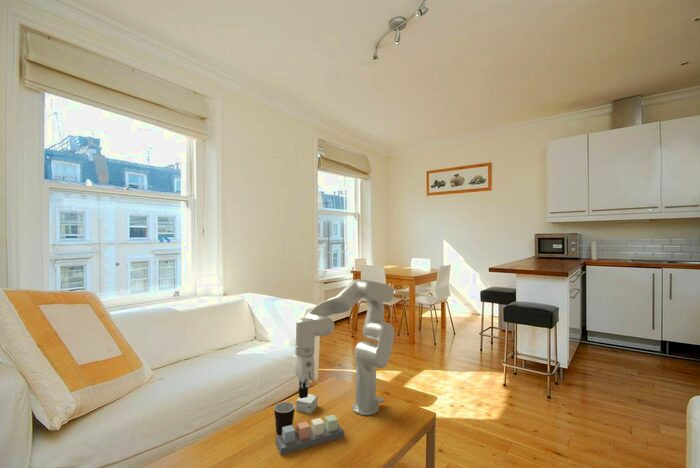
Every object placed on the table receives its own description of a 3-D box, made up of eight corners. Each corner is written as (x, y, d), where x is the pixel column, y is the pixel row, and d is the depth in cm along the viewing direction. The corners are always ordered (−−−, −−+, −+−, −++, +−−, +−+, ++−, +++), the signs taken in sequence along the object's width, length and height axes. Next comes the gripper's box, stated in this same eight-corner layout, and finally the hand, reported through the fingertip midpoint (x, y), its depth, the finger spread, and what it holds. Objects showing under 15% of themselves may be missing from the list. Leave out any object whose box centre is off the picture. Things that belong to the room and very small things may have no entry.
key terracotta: (306, 432, 130) (306, 421, 130) (309, 437, 127) (309, 426, 127) (296, 434, 128) (297, 423, 128) (299, 440, 125) (300, 428, 125)
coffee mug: (289, 438, 129) (290, 413, 130) (269, 435, 131) (270, 410, 131) (300, 422, 141) (300, 399, 141) (281, 420, 142) (282, 397, 143)
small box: (295, 410, 151) (295, 399, 151) (303, 403, 158) (303, 392, 158) (310, 414, 148) (310, 403, 148) (317, 406, 155) (318, 395, 155)
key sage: (333, 425, 136) (333, 414, 136) (337, 430, 132) (337, 419, 132) (324, 427, 134) (324, 416, 134) (328, 432, 130) (328, 421, 130)
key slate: (291, 436, 127) (292, 424, 127) (294, 442, 124) (295, 430, 124) (281, 438, 126) (282, 427, 126) (284, 444, 122) (284, 432, 122)
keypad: (335, 426, 138) (335, 420, 138) (343, 437, 131) (343, 431, 131) (275, 442, 126) (275, 436, 127) (280, 455, 119) (280, 448, 119)
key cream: (320, 428, 133) (320, 417, 133) (323, 434, 129) (324, 422, 129) (310, 431, 131) (311, 420, 131) (314, 436, 127) (314, 425, 128)
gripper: (320, 355, 123) (318, 403, 122) (307, 343, 136) (306, 387, 136) (301, 357, 120) (300, 407, 119) (290, 345, 133) (288, 390, 132)
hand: (303, 396), depth 127 cm, fingers closed
